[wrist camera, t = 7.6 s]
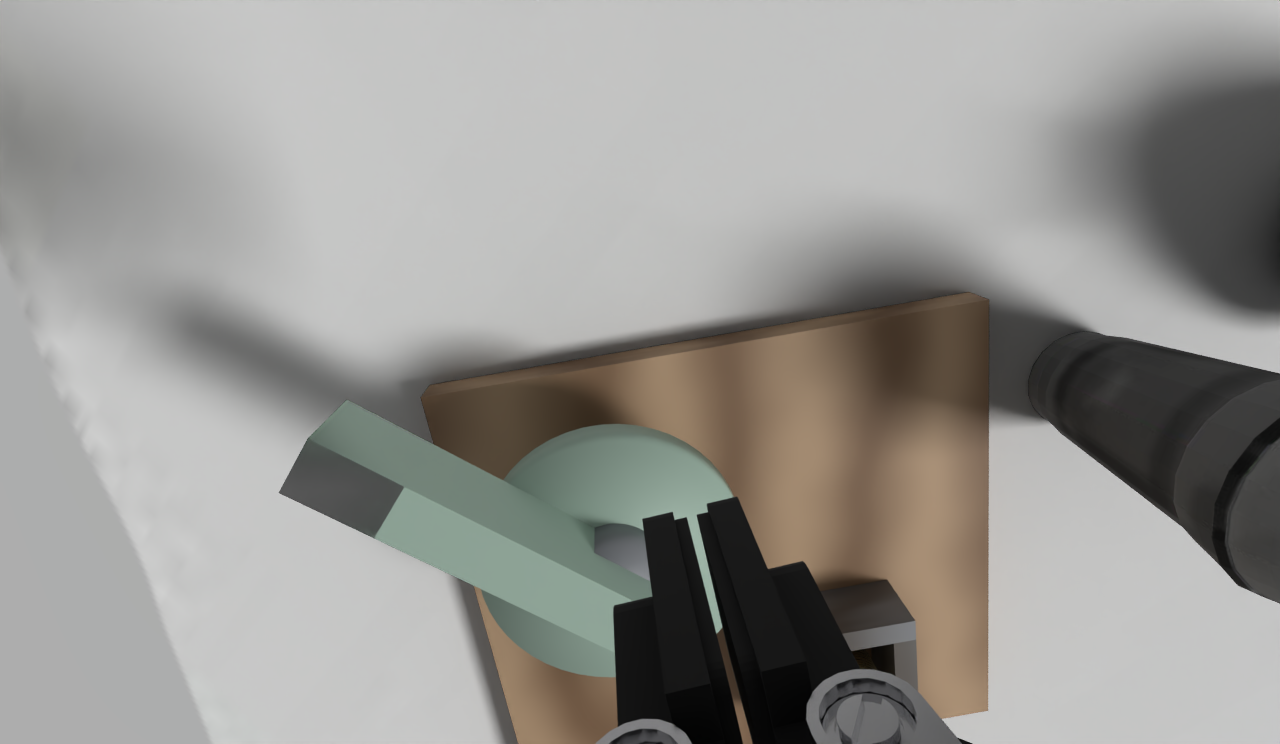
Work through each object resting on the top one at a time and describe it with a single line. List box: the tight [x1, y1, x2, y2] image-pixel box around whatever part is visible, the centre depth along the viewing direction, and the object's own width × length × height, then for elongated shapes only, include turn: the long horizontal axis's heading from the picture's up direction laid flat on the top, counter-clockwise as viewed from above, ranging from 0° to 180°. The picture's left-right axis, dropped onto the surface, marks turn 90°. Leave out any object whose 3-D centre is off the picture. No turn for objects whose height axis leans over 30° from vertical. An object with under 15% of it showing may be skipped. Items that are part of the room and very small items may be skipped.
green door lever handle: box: [279, 400, 734, 677], centre depth 24 cm, size 16×10×5 cm, turn 58°
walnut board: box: [421, 292, 989, 744], centre depth 31 cm, size 24×22×5 cm
